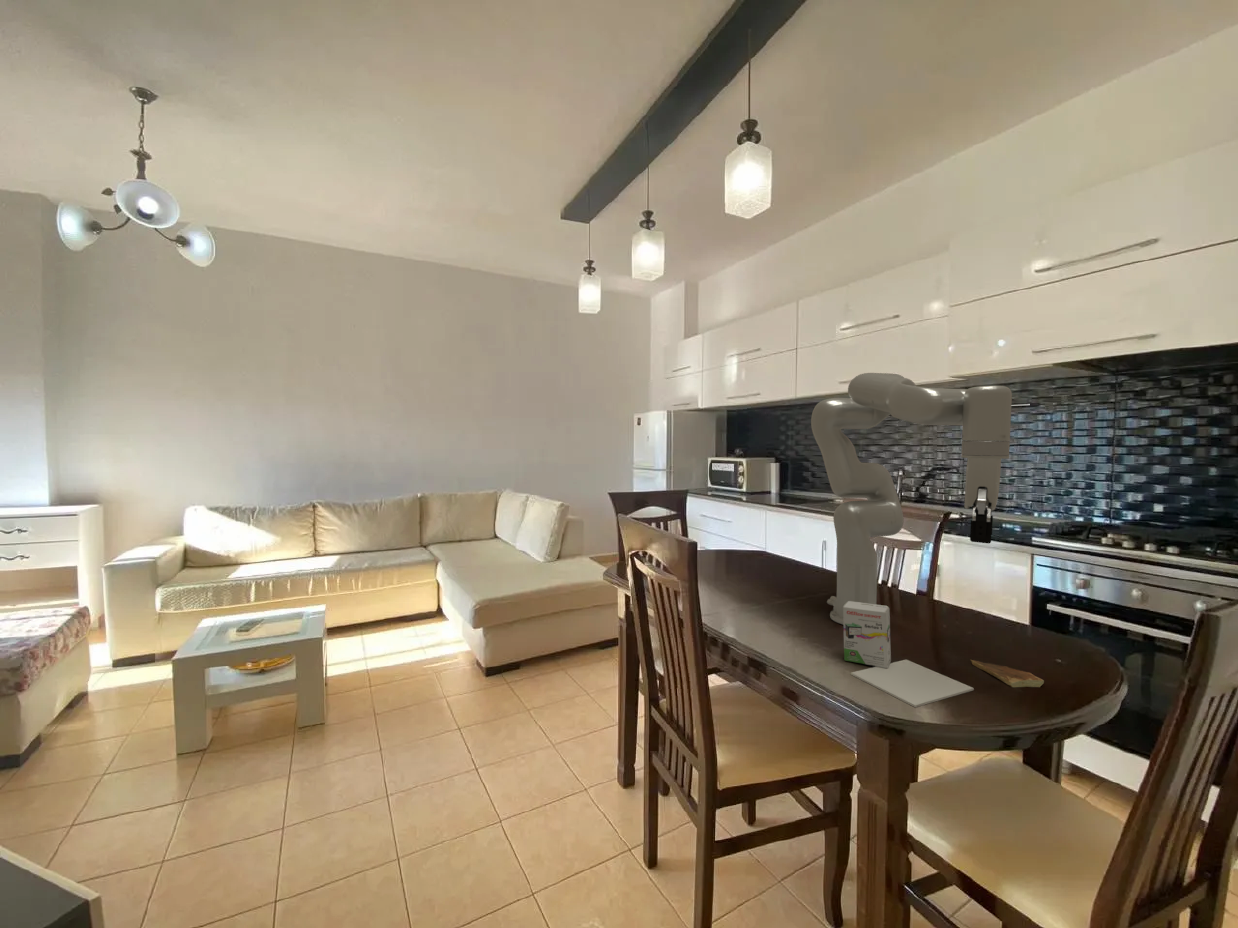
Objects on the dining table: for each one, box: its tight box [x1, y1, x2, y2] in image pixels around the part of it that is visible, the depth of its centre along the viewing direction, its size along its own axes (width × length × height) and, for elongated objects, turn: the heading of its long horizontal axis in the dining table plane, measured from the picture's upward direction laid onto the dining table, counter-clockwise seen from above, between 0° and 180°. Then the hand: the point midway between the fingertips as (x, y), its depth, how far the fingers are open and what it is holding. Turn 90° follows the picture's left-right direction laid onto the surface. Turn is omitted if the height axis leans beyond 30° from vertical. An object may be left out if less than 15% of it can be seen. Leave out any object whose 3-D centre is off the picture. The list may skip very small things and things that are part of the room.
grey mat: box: [850, 659, 975, 708], centre depth 99 cm, size 14×16×1 cm
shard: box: [970, 658, 1045, 688], centre depth 103 cm, size 11×8×2 cm
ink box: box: [842, 601, 892, 668], centre depth 109 cm, size 8×5×12 cm, turn 55°
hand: (981, 538), depth 99 cm, fingers open, 9 cm apart
